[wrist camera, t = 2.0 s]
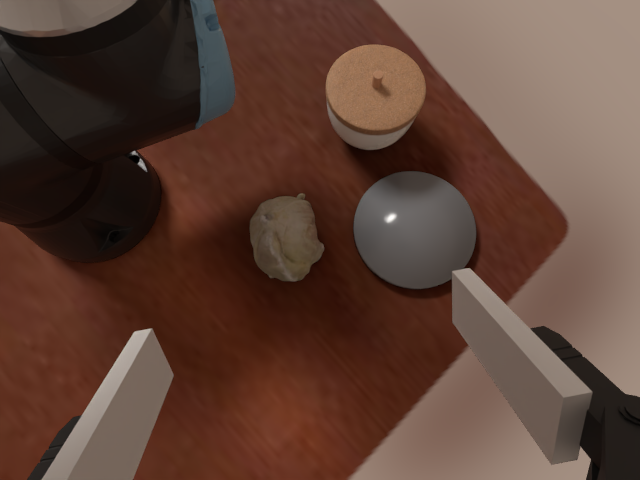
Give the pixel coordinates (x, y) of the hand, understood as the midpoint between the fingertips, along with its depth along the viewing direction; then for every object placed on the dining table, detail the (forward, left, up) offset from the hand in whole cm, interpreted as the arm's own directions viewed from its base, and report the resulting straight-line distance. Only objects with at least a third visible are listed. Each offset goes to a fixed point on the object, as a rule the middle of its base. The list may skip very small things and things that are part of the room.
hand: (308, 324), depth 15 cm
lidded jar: (+4, +25, -24) cm, 35 cm away
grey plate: (+10, +12, -24) cm, 29 cm away
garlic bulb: (-4, +9, -24) cm, 26 cm away
